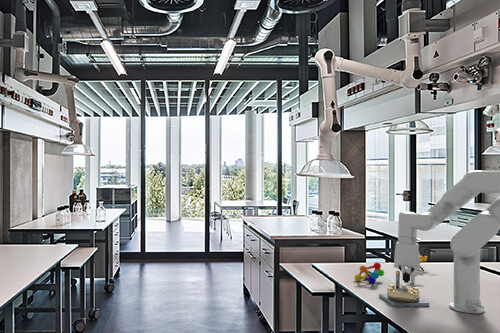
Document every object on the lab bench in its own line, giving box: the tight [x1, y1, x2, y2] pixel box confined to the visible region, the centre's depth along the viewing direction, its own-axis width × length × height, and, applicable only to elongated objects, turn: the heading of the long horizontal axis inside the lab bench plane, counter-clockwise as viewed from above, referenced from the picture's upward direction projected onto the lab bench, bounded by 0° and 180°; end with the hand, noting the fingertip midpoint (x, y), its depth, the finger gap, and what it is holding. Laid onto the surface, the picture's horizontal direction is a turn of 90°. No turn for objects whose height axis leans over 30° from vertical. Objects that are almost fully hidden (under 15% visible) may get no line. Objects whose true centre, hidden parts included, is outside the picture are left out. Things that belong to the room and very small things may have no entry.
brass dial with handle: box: [386, 270, 421, 302], centre depth 181 cm, size 13×13×10 cm
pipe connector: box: [401, 267, 425, 284], centre depth 215 cm, size 10×10×10 cm
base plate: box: [378, 293, 430, 308], centre depth 181 cm, size 15×15×2 cm
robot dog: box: [406, 246, 437, 272], centre depth 247 cm, size 6×18×13 cm, turn 73°
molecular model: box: [353, 261, 385, 284], centre depth 215 cm, size 15×10×15 cm
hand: (406, 282), depth 185 cm, fingers closed
